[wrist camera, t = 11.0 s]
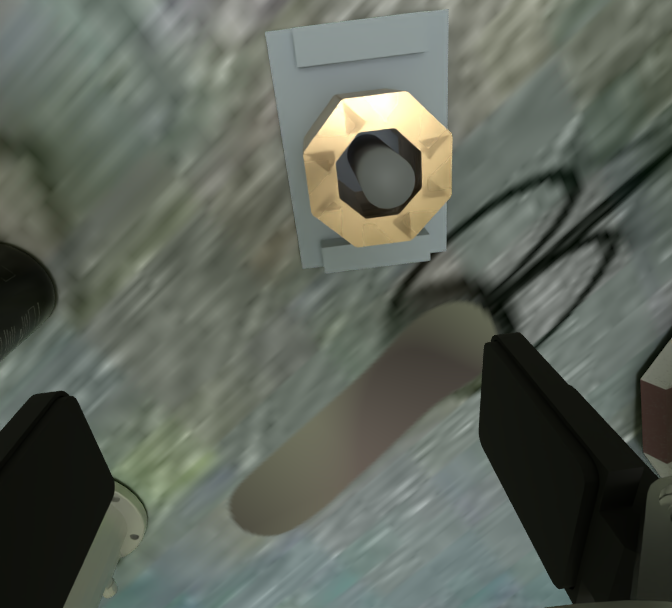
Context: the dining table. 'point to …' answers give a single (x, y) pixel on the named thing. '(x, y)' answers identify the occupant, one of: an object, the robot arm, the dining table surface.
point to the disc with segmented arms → (658, 412)
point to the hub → (414, 146)
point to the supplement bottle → (21, 298)
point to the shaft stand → (367, 147)
